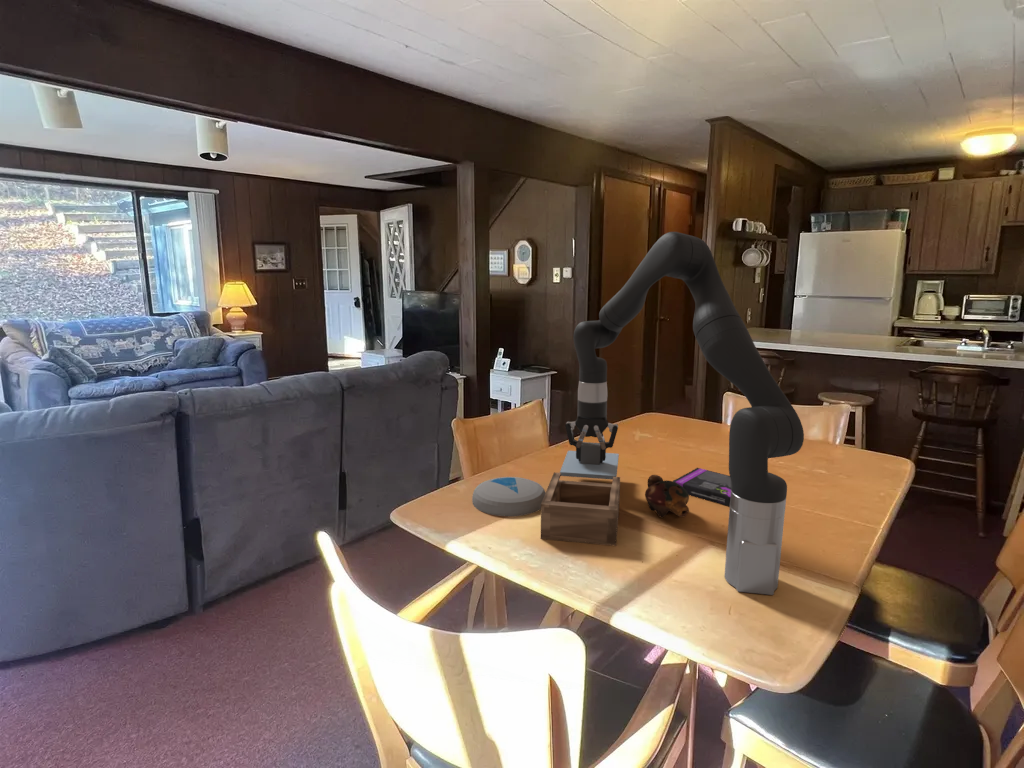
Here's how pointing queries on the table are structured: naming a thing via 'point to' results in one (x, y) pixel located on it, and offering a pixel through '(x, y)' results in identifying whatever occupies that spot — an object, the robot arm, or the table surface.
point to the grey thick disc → (508, 496)
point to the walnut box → (580, 511)
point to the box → (707, 485)
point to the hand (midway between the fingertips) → (590, 461)
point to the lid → (590, 463)
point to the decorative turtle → (666, 497)
